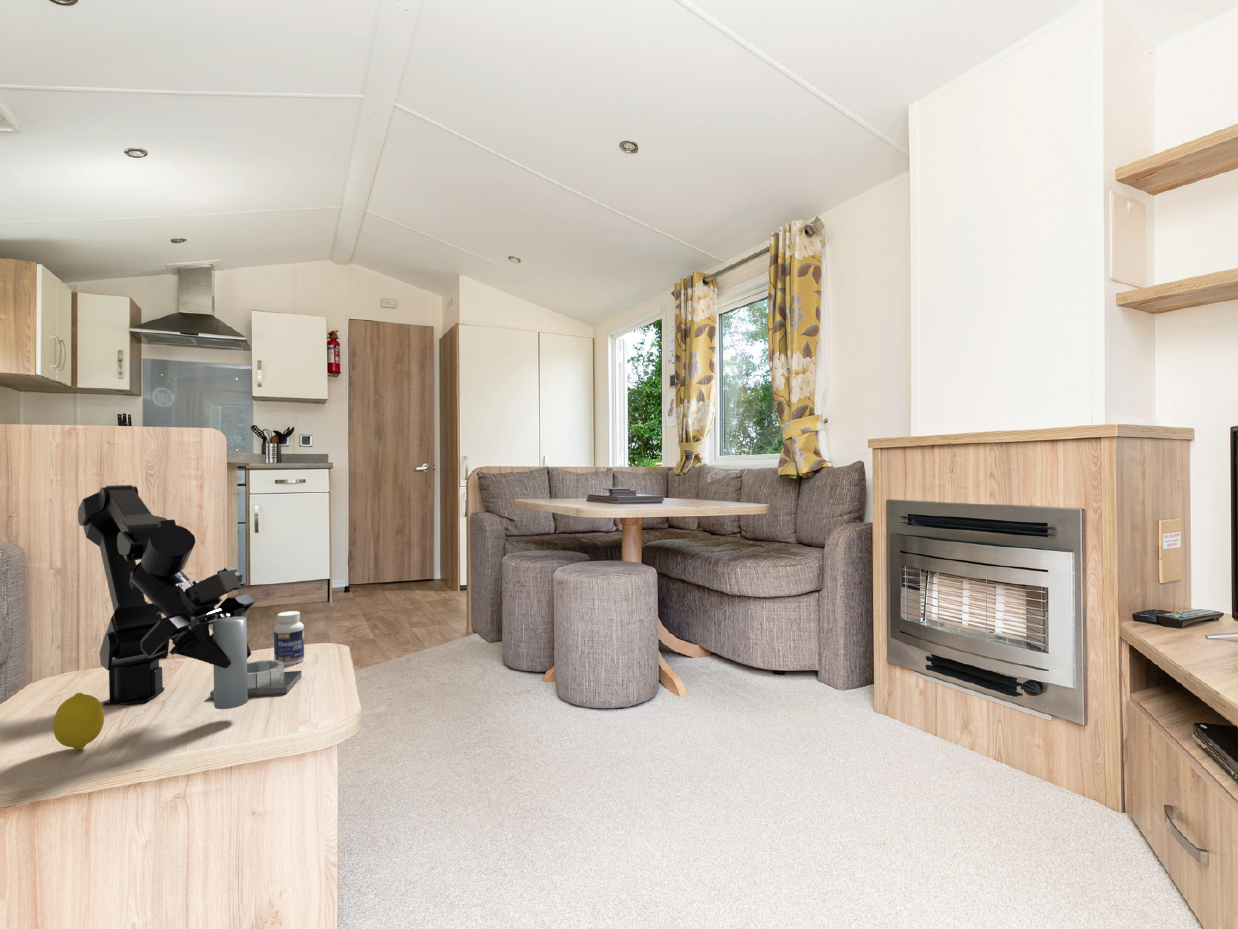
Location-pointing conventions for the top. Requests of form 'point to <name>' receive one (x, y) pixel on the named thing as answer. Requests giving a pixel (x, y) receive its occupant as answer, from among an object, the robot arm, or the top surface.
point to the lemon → (78, 721)
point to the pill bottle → (289, 638)
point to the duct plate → (275, 687)
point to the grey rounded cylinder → (234, 678)
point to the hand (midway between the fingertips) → (239, 661)
